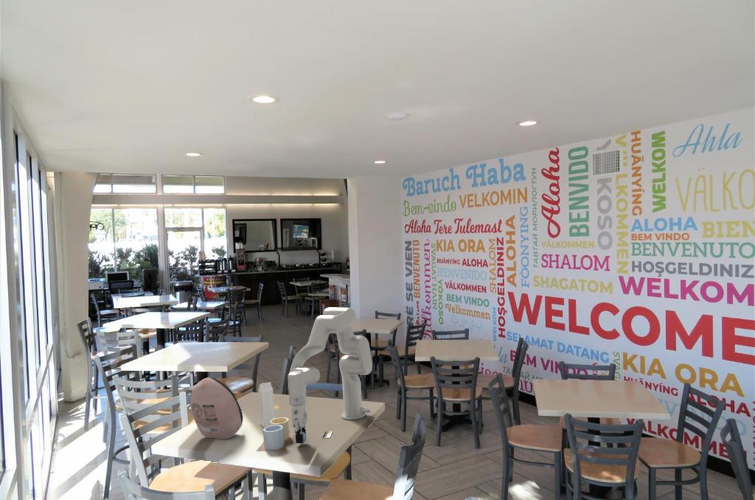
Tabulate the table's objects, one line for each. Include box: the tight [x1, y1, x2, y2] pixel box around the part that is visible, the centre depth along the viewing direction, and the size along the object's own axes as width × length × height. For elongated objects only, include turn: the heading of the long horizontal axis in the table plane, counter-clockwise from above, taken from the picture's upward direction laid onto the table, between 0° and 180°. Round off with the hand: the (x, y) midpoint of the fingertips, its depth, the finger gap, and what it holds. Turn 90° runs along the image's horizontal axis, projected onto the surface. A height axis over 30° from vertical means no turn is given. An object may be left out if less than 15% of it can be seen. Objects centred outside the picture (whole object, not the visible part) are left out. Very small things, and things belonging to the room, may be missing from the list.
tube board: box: [256, 430, 333, 452], centre depth 233 cm, size 30×24×1 cm
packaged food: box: [189, 376, 244, 440], centre depth 244 cm, size 22×20×30 cm
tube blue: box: [262, 425, 284, 450], centre depth 226 cm, size 8×8×8 cm
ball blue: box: [294, 432, 307, 445], centre depth 226 cm, size 5×5×5 cm
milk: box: [257, 381, 276, 428], centre depth 256 cm, size 6×6×22 cm
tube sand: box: [270, 416, 291, 440], centre depth 236 cm, size 8×8×8 cm
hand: (301, 439), depth 226 cm, fingers closed on ball blue, 4 cm apart
